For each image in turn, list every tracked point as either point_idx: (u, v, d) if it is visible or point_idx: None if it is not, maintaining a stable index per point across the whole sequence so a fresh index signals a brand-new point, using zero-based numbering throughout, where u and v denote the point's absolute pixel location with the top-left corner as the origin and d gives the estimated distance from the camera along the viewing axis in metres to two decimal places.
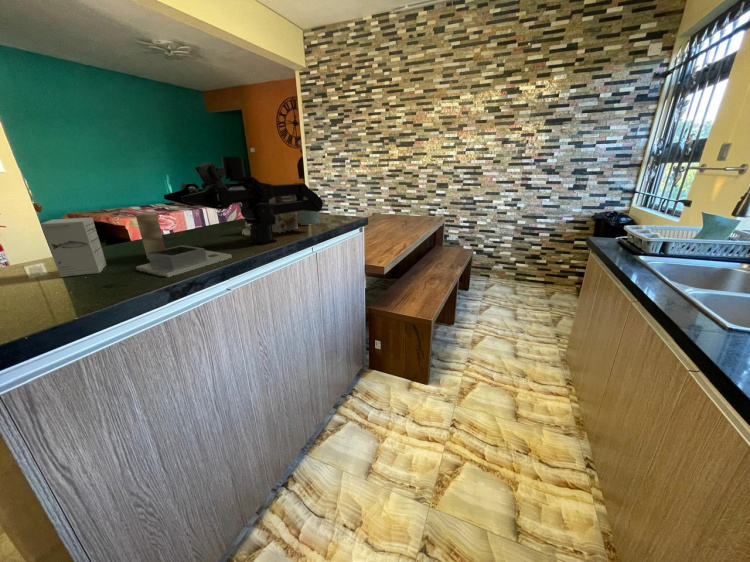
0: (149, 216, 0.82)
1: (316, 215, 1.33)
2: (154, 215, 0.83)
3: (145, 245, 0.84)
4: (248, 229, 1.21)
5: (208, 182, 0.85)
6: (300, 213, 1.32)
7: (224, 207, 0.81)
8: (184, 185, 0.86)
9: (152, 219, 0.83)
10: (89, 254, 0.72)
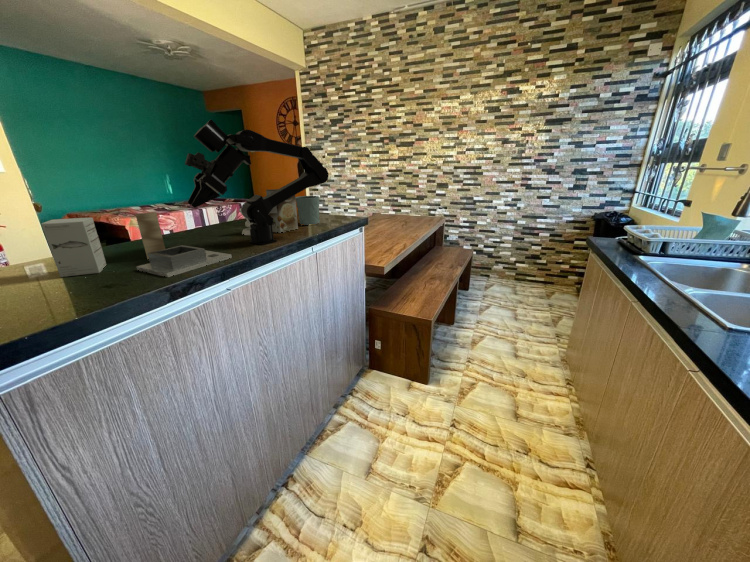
0: (149, 216, 0.82)
1: (316, 215, 1.33)
2: (154, 215, 0.83)
3: (145, 245, 0.84)
4: (248, 229, 1.21)
5: (202, 170, 0.88)
6: (300, 213, 1.32)
7: (223, 192, 0.85)
8: (194, 181, 0.93)
9: (152, 219, 0.83)
10: (89, 254, 0.72)
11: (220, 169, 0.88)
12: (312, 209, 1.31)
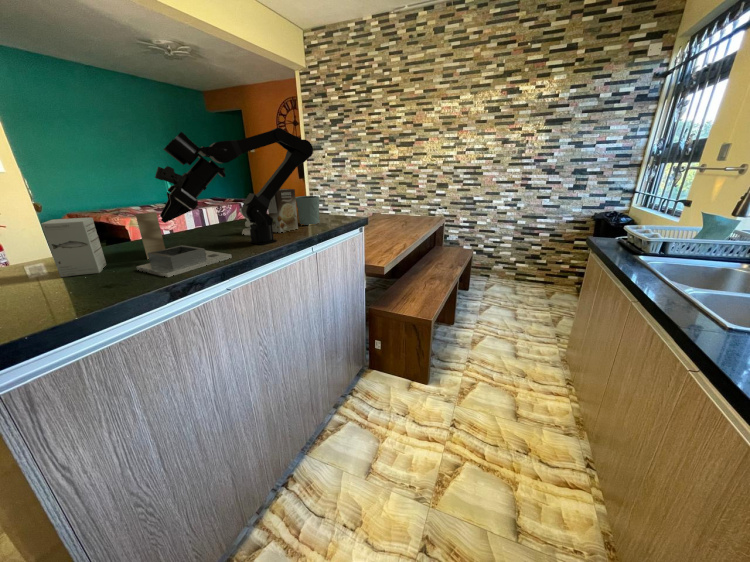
0: (149, 216, 0.82)
1: (316, 215, 1.33)
2: (154, 215, 0.83)
3: (145, 245, 0.84)
4: (248, 229, 1.21)
5: None
6: (300, 213, 1.32)
7: (193, 207, 0.82)
8: (167, 194, 0.90)
9: (152, 219, 0.83)
10: (89, 254, 0.72)
11: (192, 183, 0.85)
12: (312, 209, 1.31)
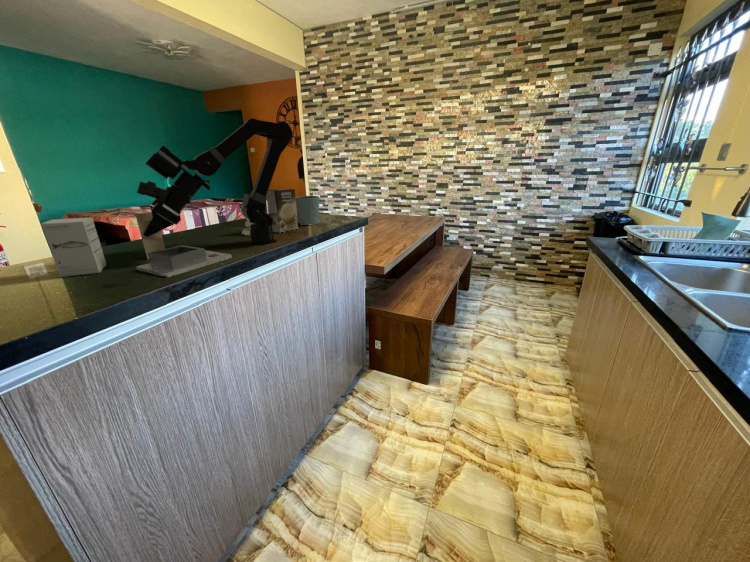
0: (149, 216, 0.82)
1: (316, 215, 1.33)
2: None
3: (145, 245, 0.84)
4: (248, 229, 1.21)
5: None
6: (300, 213, 1.32)
7: (176, 222, 0.80)
8: None
9: None
10: (89, 254, 0.72)
11: (175, 197, 0.84)
12: (312, 209, 1.31)
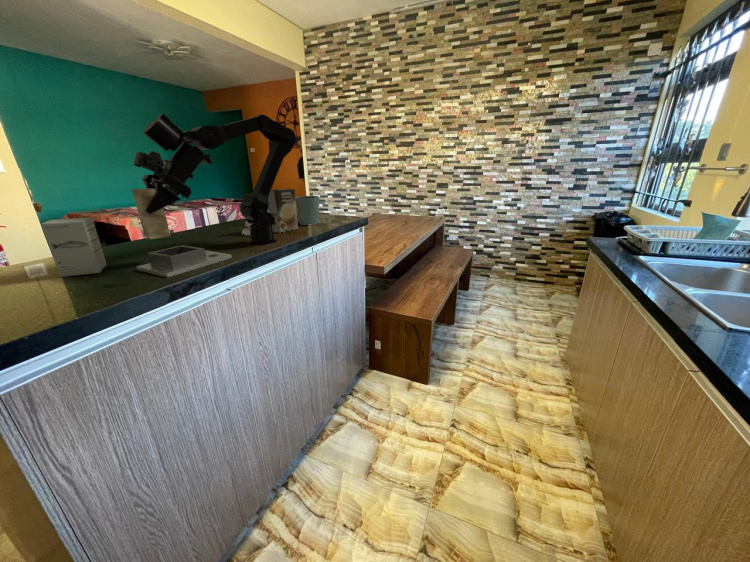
0: (151, 191, 0.76)
1: (316, 215, 1.33)
2: None
3: (147, 223, 0.76)
4: (248, 229, 1.21)
5: (156, 171, 0.77)
6: (300, 213, 1.32)
7: (187, 195, 0.76)
8: (146, 184, 0.79)
9: None
10: (89, 254, 0.72)
11: (179, 170, 0.79)
12: (312, 209, 1.31)
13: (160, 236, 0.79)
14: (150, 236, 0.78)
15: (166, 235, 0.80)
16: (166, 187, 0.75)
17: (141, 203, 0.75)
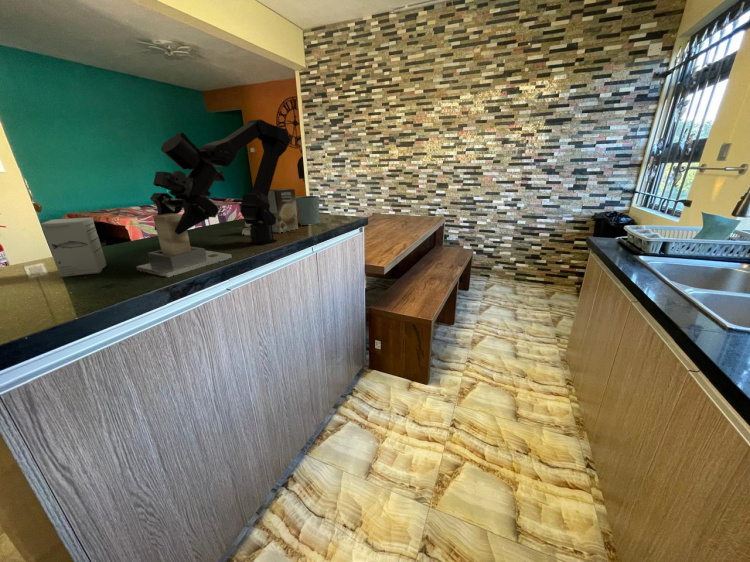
0: (177, 216, 0.75)
1: (316, 215, 1.33)
2: (181, 215, 0.75)
3: (174, 249, 0.75)
4: (248, 229, 1.21)
5: (176, 190, 0.76)
6: (300, 213, 1.32)
7: (216, 214, 0.76)
8: (157, 203, 0.77)
9: (179, 220, 0.75)
10: (89, 254, 0.72)
11: (199, 189, 0.78)
12: (312, 209, 1.31)
13: None
14: None
15: None
16: None
17: (168, 230, 0.73)
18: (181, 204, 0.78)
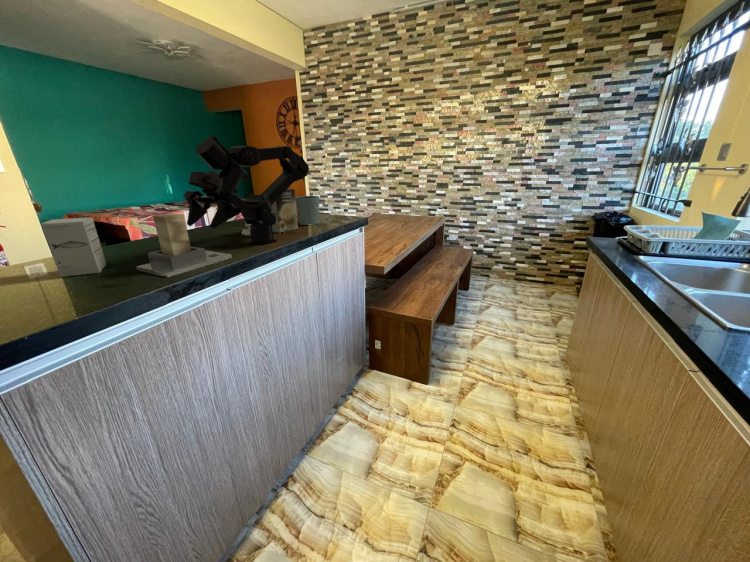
0: (177, 216, 0.75)
1: (316, 215, 1.33)
2: (181, 215, 0.75)
3: (174, 249, 0.75)
4: (248, 229, 1.21)
5: (208, 188, 0.83)
6: (300, 213, 1.32)
7: (244, 210, 0.84)
8: (189, 200, 0.85)
9: (179, 220, 0.75)
10: (89, 254, 0.72)
11: (228, 187, 0.86)
12: (312, 209, 1.31)
13: None
14: None
15: None
16: None
17: (168, 230, 0.73)
18: (212, 201, 0.85)
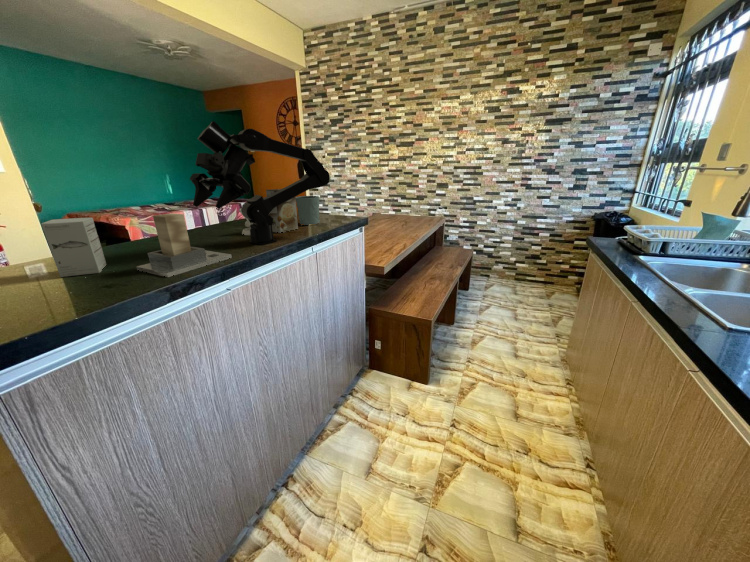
0: (177, 216, 0.75)
1: (316, 215, 1.33)
2: (181, 215, 0.75)
3: (174, 249, 0.75)
4: (248, 229, 1.21)
5: (214, 170, 0.86)
6: (300, 213, 1.32)
7: (248, 191, 0.87)
8: (195, 181, 0.88)
9: (179, 220, 0.75)
10: (89, 254, 0.72)
11: (233, 169, 0.89)
12: (312, 209, 1.31)
13: None
14: None
15: None
16: None
17: (168, 230, 0.73)
18: (217, 183, 0.88)
